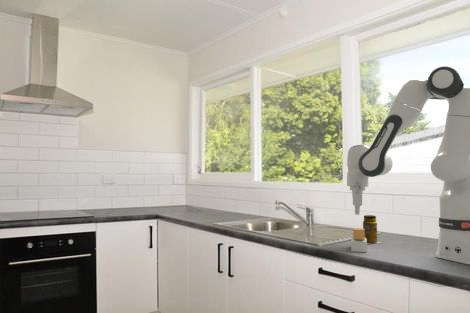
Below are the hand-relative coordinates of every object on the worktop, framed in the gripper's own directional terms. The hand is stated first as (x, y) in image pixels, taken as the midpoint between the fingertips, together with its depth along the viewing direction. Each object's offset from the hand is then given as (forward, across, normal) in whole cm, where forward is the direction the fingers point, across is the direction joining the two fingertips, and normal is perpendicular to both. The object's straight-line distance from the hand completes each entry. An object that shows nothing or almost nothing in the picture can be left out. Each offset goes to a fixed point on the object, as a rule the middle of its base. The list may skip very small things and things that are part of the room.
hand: (357, 214), depth 161 cm
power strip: (+13, -7, -1) cm, 15 cm away
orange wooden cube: (+9, -7, -1) cm, 12 cm away
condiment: (+14, +11, -5) cm, 18 cm away
